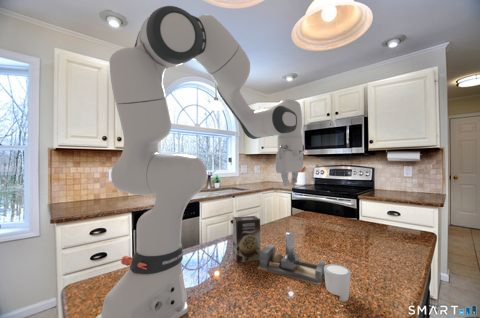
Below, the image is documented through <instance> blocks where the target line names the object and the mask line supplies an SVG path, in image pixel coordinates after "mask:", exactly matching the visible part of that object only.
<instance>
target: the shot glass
mask: <svg viewBox="0 0 480 318" xmlns="http://www.w3.org/2000/svg"><path fill="white" fill-rule="evenodd" d="M351 275H352V272H351V270H350V269H349V268H348V267H346V266H344V265H342V264H335V263H330V264H325V266H324V281H325V283H324V284H325V289H326V291H327V292H329V294H330V293H331V295H335V296H338V297H339V299H338V302H346V301H348V300H349V297H350V287H351V278H352V277H351Z"/></svg>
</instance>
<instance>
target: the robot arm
mask: <svg viewBox="0 0 480 318" xmlns="http://www.w3.org/2000/svg"><path fill="white" fill-rule="evenodd" d="M134 44H135V45H134V47H124V48H123V47H122V48H121V49H118V50H116V51H115V52H114V53H112V54H111V55H110V58H109V76H110V84H111V89H112V94H113V98H114V102H115V106H116V109H117V112H118V113H117V114H118V117H119V120H120V125H121V129H122V135H123V146H122V152H121V155H120V156H119V158H118V160H116V161H115V162H114V164H113V166H112V169H111V174H110V176H111V177H110V178H111V181H112V184H113V186H114V188H115V189H117V190H118V191H120V192H122V193H127V194H130V195H133V196H134V195H135V196H155V201H154V205H153V207H152V208H151V209H148V210H147V211H145V212H144V213H143V214H141V216H140V217H139V218H138V220H137V223H136V249H135V250H134V254H133V256H132V257H131V256H128V255H123V256H122V257H121V259H120V264H121V265H122V266H123V265H124V266H127V267H128V266H129V268H128V270H127V271H126V272H125V273H124V275H123V276H122V277H121V278H120V279H119V280H118V282H117V283H116V284H115V285H114V286H113V287H112V288H111V289H110V290H109V291H108V292H107V294H106V295H105V298H104V300H103V304H102V308H101V313H100V314H98V315H97V316H95V318H181V317H182V316H184V315H185V314H187V313H188V310H189V309H188V307H189V306H188V304H187V301H188V294H187V289H186V287H185V279H184V272H183V265H182V261H183V259H184V256H183V255H184V250H183V244H182V225H183V224H182V223H183V222H182V221H183V217H184V212H185V209H186V208H187V206H188V204H189V203H190V201H191V200H192V199H193V197H195V196H196V195H197V194H198V193H200V192H201V191H202V190H203V188H204V187H205V184H206V181H207V179H208V172H207V171H208V170H207V167H206V165H205V163H204V162H203V160H202V159H201V158H200V157H198V156H194V155H190V154H184V153H159V145H158V144H159V142H161V141H163V140H164V139H165V138H166V137H168V135H169V134H170V132H171V128H172V121H171V116H170V112H169V106H168V103H167V102H168V101H167V97H166V92H165V88H164V85H163V84H164V74H165V71H166V69H168V68H176V67H178V66H181V65H183V64H186V63H188V62H190V61H192V60H194V61H196V62H197V63H198V64H199V65H200V66H202V67H203V68H204V70H205V71H206V73H207V74H208V75H209V76H211V78H212V79H213V81H214V82H215V84H216V89H217V93H218V94H219V97H220V99H222V101H223V102H224V104H225V105H226V107H228V109H229V110H230V112H231V113H232V115H233V116H234V117H235V118H236V120H237V121H238V123H239V125H240V127H241V129H242V131H243V133H244V134H245V136H247V137H248V138H249V139H251V140H257V139H260V138H265V137H266V138H267V137H275V136H277V151H276V154H275V172H276V173H277V174H280V176H281V180H282V185H283V187H288V186H289V185H290V183H292V184H297V183H298V176H299V171H302V170H303V166H304V152H305V145H304V140H303V134H302V128H303V114H302V107H301V104H300V102H298V101H297V100H295V99H284V100H281V101H280V102H279V103H278V104H277V105H273V106H270V107H267V108H263V109H256V110H255V109H252V108H251V107H250V106H249V104H248V103H247V100H246V99H245V98H244V97H243V95H242V93H241V91H240V90H242V88H243V87H244V85H245V83H246V82H247V80H248V79H249V76H250V72H251V62H250V59H249V57H248V55H247V53H246V52H245V50H244V49H243V47H242V46H241V45H240V43H239V42H238V41H237V40H236V39H235V37H234V36H233V35H232V33H230V30H228V29H227V28H226V26H224V25H223V24H222V23H221V22H220V21H219V20H218V19H217V18H216V17H214V16H213V15H211V14H202V15H199V16H197V17H196V16H195V15H192V14H190V13H189V12H188V11H187V10H185V9H183V8H181V7H179V6H178V7H177V6H175V5H166V6H162V7H159V8H157V9H155V10H154V11H153V12H152V13H151V14H150V16H148V17H147V18H146V19H145V21H143V23H142V25H141V27H140V30H139V31H138V34H137V37H136V40H135V43H134ZM289 173H291V174H292V175H291V182H290V180H289Z"/></svg>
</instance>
